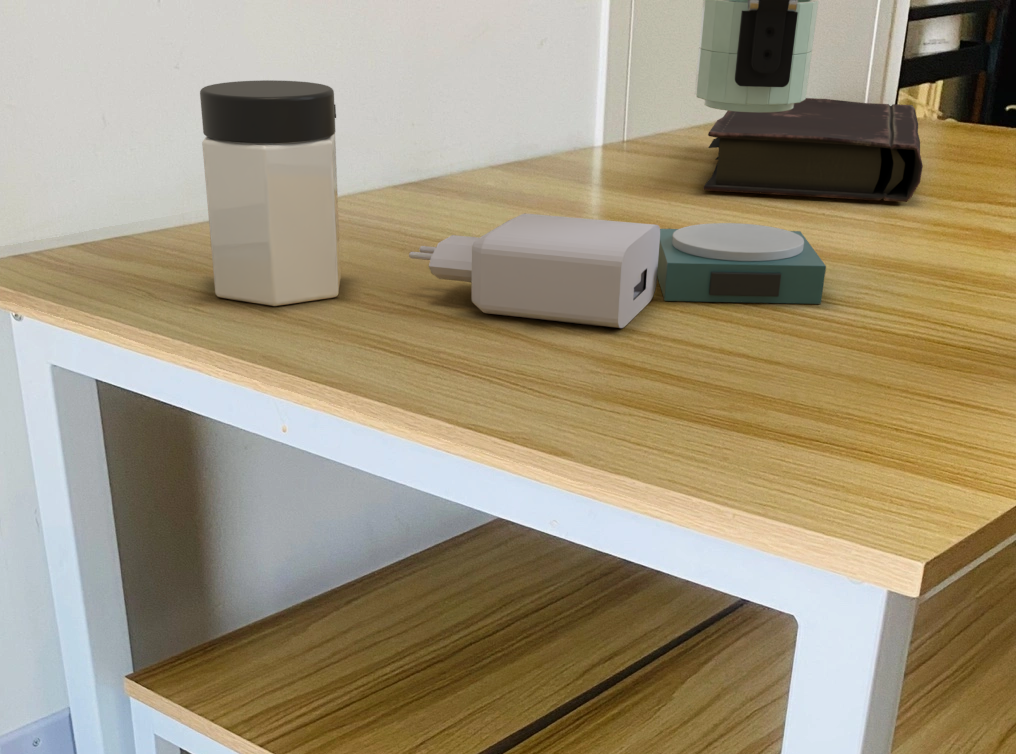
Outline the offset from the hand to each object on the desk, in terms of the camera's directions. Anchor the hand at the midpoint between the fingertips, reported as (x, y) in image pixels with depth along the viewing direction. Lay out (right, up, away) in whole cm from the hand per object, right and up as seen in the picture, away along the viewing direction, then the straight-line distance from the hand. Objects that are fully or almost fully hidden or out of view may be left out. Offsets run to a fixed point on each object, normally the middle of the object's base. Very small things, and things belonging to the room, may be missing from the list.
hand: (753, 75), depth 85 cm
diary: (+14, +10, +41) cm, 45 cm away
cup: (0, -1, +1) cm, 2 cm away
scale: (0, -11, +7) cm, 13 cm away
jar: (-30, -12, +4) cm, 33 cm away
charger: (-14, -14, +2) cm, 20 cm away
